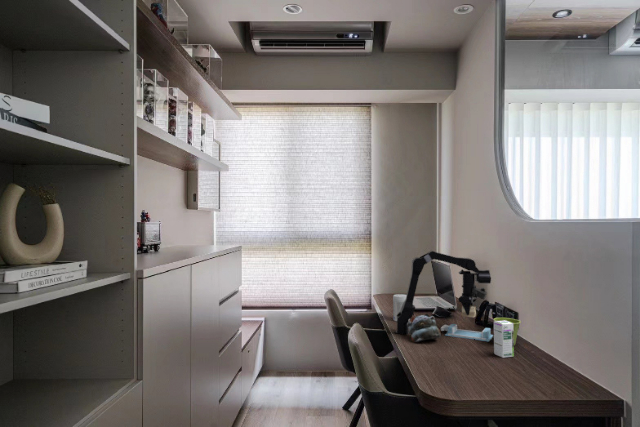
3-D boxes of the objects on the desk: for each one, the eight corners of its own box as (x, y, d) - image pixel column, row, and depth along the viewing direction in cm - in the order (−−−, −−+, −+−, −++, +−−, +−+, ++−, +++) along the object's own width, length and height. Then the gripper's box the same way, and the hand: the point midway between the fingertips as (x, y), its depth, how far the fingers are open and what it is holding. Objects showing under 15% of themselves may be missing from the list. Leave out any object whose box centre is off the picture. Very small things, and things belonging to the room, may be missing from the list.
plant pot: (524, 348, 192) (523, 323, 192) (496, 347, 194) (496, 322, 194) (517, 341, 203) (517, 318, 204) (491, 340, 206) (491, 316, 206)
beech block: (474, 317, 211) (474, 307, 211) (461, 316, 214) (461, 306, 214) (475, 316, 214) (475, 306, 214) (463, 314, 217) (463, 304, 217)
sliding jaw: (452, 334, 213) (452, 327, 213) (440, 333, 216) (440, 326, 216) (456, 330, 221) (456, 324, 221) (445, 329, 224) (445, 322, 224)
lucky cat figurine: (409, 343, 200) (402, 314, 206) (414, 347, 209) (407, 319, 216) (440, 336, 195) (432, 307, 202) (444, 340, 205) (436, 312, 212)
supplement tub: (413, 320, 245) (413, 295, 245) (403, 323, 239) (403, 297, 239) (399, 318, 252) (399, 293, 252) (389, 320, 246) (389, 295, 246)
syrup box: (502, 358, 178) (502, 323, 179) (493, 353, 184) (493, 320, 184) (514, 357, 180) (514, 322, 180) (504, 352, 186) (504, 319, 186)
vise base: (489, 341, 203) (489, 333, 203) (445, 335, 214) (445, 327, 214) (493, 335, 213) (493, 327, 213) (450, 330, 224) (450, 322, 224)
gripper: (482, 286, 202) (482, 319, 202) (488, 282, 218) (488, 312, 218) (458, 285, 208) (458, 316, 207) (466, 280, 224) (466, 310, 223)
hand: (468, 314), depth 214 cm, fingers closed on beech block, 4 cm apart
